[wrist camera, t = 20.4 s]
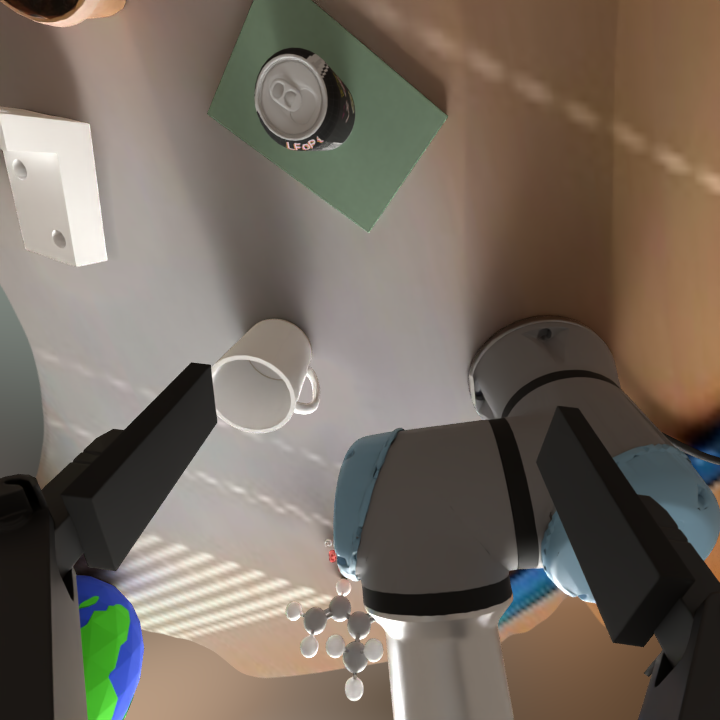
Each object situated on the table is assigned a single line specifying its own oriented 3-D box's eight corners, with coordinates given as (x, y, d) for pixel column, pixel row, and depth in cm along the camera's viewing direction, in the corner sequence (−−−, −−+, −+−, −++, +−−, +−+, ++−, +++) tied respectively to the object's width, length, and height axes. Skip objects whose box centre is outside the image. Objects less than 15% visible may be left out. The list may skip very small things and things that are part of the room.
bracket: (33, 110, 38) (-64, 97, 32) (89, 123, 37) (-2, 113, 30) (58, 244, 45) (-20, 256, 38) (107, 260, 43) (34, 275, 37)
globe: (118, 646, 85) (-10, 869, 59) (-7, 568, 76) (-227, 793, 49) (209, 607, 75) (104, 856, 48) (77, 511, 65) (-144, 757, 39)
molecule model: (417, 531, 63) (422, 614, 48) (413, 611, 67) (417, 712, 52) (295, 522, 65) (263, 600, 50) (297, 601, 69) (268, 696, 54)
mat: (447, 116, 35) (448, 116, 34) (369, 232, 40) (368, 233, 39) (270, -34, 31) (268, -37, 31) (209, 114, 36) (206, 113, 36)
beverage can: (311, 59, 33) (268, 16, 23) (368, 101, 34) (353, 79, 24) (281, 126, 36) (231, 117, 25) (336, 163, 37) (309, 169, 26)
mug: (236, 367, 49) (198, 416, 40) (250, 302, 45) (212, 341, 36) (320, 395, 50) (302, 450, 41) (342, 335, 46) (327, 381, 37)
